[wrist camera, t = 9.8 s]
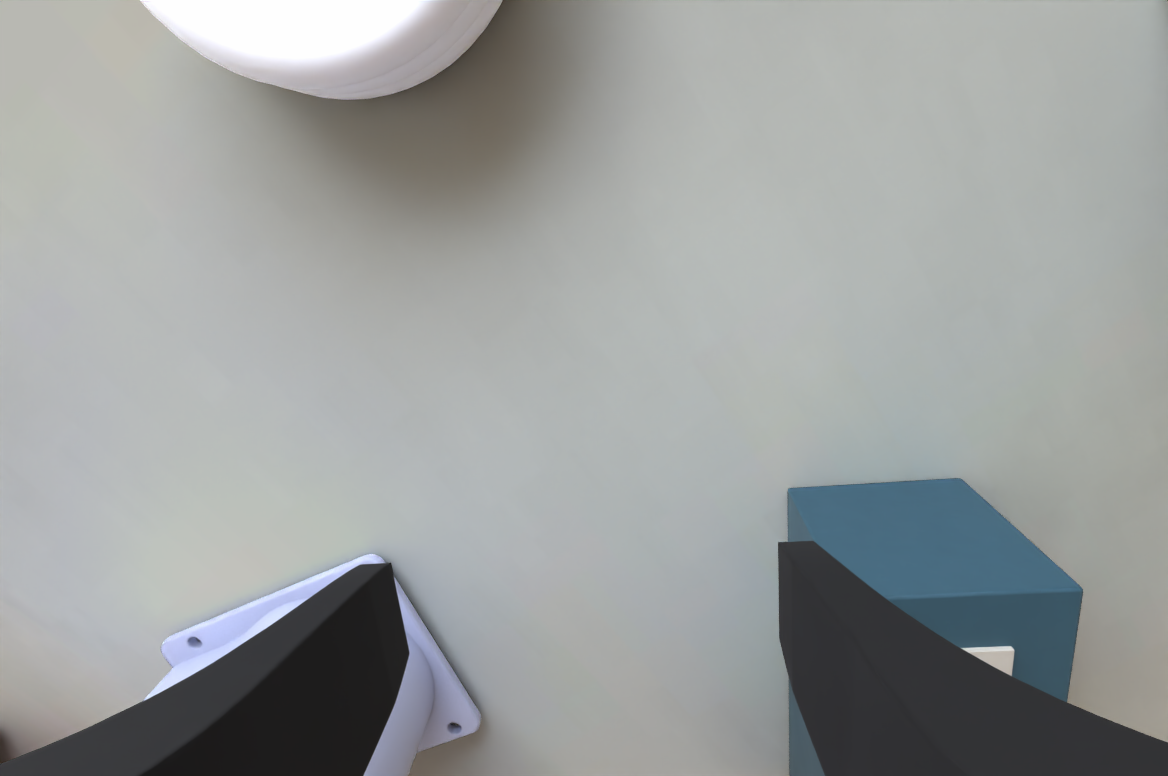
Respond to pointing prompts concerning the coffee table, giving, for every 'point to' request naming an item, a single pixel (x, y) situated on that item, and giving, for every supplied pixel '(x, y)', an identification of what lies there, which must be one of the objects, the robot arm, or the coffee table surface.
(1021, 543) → the tissue box
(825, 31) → the coffee table surface
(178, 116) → the coffee table surface
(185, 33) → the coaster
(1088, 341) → the coffee table surface
